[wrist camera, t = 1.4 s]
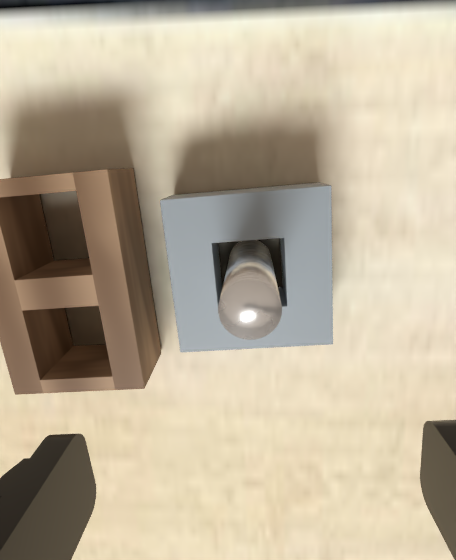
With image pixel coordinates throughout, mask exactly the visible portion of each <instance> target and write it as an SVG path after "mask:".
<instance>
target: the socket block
mask: <svg viewBox="0 0 456 560" xmlns="http://www.w3.org/2000/svg"><path fill="white" fill-rule="evenodd" d="M160 204H161V212H162V219H163V227H164V234H165V241H166V249H167V256H168V263H169V271H170V278H171V286H172V293H173V300H174V308H175V315H176V322H177V330H178V337H179V344H180V352H195V351H214V350H233V349H252V348H271V347H289V346H308V345H327V344H333V306H332V207H331V185H327V184H323V183H320V182H319V183H307V184H295V185H284V186H272V187H261V188H249V189H237V190H226V191H214V192H202V193H191V194H179V195H172V196H169V197H167V198H164V199H162V200H160ZM273 238H280V248H281V269H282V287H278V291H279V296H280V300H281V305H282V315H281V319H280V322H279V324H278V325H277V327H276V328H275V329H274V330H273V331H272V332H271V333H270V334H268V335H267V336H265V337H262V338H259V339H254V340H246V339H241V338H238V337H236V336H234V335H232V334H231V333H229V332H228V331H227V330H226V329H225V328H224V326H223V325H222V323H221V321H220V318H219V314H218V306H219V301H220V297H221V292H222V279H221V269H220V258H219V248H218V243H220V242H233V241H247V240H260V239H273Z"/></svg>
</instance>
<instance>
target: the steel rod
mask: <svg viewBox="0 0 456 560" xmlns="http://www.w3.org/2000/svg"><path fill="white" fill-rule="evenodd" d="M218 314H219V318H220V321H221V323H222V325H223V326H224V328H225V329H226V330H227V331H228V332H229V333H231V334H232V335H234V336H236V337H238V338H241V339H246V340H254V339H259V338H262V337H265V336H267V335H268V334H270V333H271V332H272V331H273V330H274V329H275V328H276V327H277V325H278V324H279V322H280V319H281V315H282V305H281V300H280V296H279V291H278V286H277V282H276V277H275V273H274V268H273V264H272V259H271V255H270V252H269V250H268V248H267V247H266V246H265V245H264V244H263V243H262V242H260V241H257V240H247V241H241V242H239V243H238V244H236V245H235V246H234V248H233V249H232V251H231V253H230V257H229V261H228V266H227V270H226V275H225V279H224V283H223V288H222V292H221V297H220V301H219V306H218Z"/></svg>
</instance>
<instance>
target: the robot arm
mask: <svg viewBox="0 0 456 560" xmlns="http://www.w3.org/2000/svg"><path fill="white" fill-rule="evenodd" d="M420 481H421V488H422V493H423V496H424V499H425V502H426V505H427V507H428V509H429V511H430V513H431V515H432V517H433V519H434V521H435V523H436V525H437V526H438V528H439V530H440V532H441V534H442V536H443V538H444V540H445V542H446V544H447V546H448V548H449V550H450V552H451V554H452V555H453V557H454V559H455V560H456V420H442V421H427V422H426V423H425V424H424V428H423V440H422V455H421V470H420ZM95 499H96V484H95V479H94V475H93V470H92V466H91V462H90V458H89V453H88V449H87V445H86V441H85V438H84V436H83V435H82V434H61V435H49V436H47V437H46V438H45V439H44V440H43V441H42V443H41V444H40V445H39V447H38V448H37V450H36V451H35V452H34V454H33V455H32V456H31V458H28V459H23V460H22V461H21V462H19V463H18V464H17V465H16V466H14V467H13V468H12V469H11V470H9V471H8V472H7V473H5V474H4V475H3V476H2V477H1V478H0V560H71V559H72V556H73V554H74V552H75V550H76V548H77V545H78V543H79V541H80V539H81V536H82V534H83V532H84V530H85V528H86V525H87V523H88V521H89V519H90V517H91V514H92V512H93V509H94V505H95Z"/></svg>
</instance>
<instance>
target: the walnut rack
mask: <svg viewBox="0 0 456 560" xmlns="http://www.w3.org/2000/svg"><path fill="white" fill-rule="evenodd" d="M67 191H76V193H77V198H78V203H79V208H80V213H81V218H82V223H83V228H84V234H85V239H86V244H87V249H88V254H89V258H84V259H71V260H57V261H54V259H53V254H52V250H51V245H50V241H49V236H48V232H47V227H46V223H45V218H44V214H43V209H42V205H41V200H40V196H39V194H45V193H56V192H67ZM85 306H99V310H100V315H101V320H102V326H103V331H104V336H105V341H106V344H103V345H85V346H73V344H72V339H71V335H70V330H69V326H68V321H67V317H66V312H65V308H70V307H85ZM0 342H1V346H2V349H3V353H4V356H5V360H6V363H7V367H8V371H9V374H10V378H11V381H12V385H13V388H14V392H15V394H36V393H58V392H80V391H102V390H124V389H144V388H145V386H146V384H147V382H148V380H149V378H150V376H151V374H152V371H153V369H154V367H155V365H156V363H157V361H158V359H159V357H160V355H161V348H160V341H159V335H158V328H157V322H156V315H155V308H154V302H153V295H152V289H151V282H150V275H149V269H148V262H147V256H146V249H145V242H144V236H143V229H142V223H141V216H140V209H139V203H138V196H137V190H136V183H135V177H134V170H133V168H129V169H105V170H95V171H84V172H73V173H62V174H51V175H41V176H30V177H19V178H8V179H0Z"/></svg>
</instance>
